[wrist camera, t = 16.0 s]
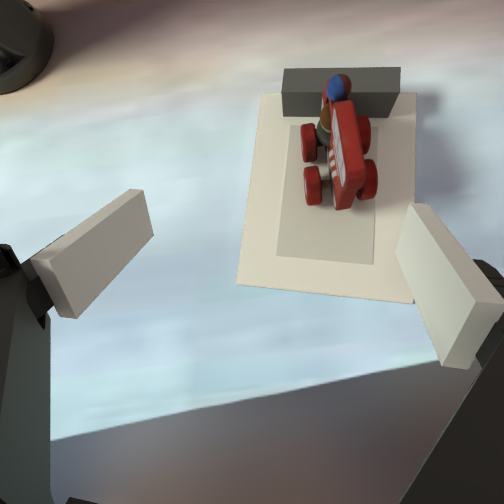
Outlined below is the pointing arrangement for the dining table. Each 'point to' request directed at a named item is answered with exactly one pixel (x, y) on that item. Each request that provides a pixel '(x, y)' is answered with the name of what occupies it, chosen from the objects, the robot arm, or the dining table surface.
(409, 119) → the mat
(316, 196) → the red toy car
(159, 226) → the dining table surface
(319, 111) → the grey rectangular block
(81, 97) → the dining table surface
